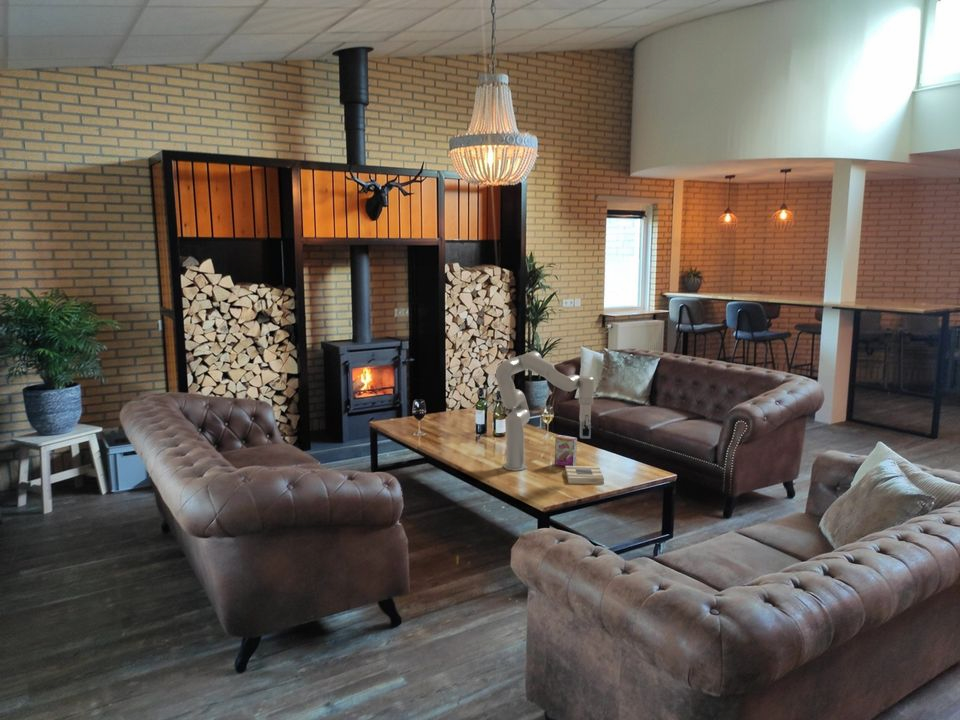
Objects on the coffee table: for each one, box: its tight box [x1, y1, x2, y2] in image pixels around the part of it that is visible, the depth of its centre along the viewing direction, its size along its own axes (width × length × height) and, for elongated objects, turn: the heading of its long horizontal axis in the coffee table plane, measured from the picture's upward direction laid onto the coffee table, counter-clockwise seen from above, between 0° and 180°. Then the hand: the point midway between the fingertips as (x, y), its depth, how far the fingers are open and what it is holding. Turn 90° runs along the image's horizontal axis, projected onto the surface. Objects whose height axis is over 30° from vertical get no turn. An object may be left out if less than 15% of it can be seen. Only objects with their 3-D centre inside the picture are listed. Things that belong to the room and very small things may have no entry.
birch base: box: [564, 465, 605, 485], centre depth 375 cm, size 20×18×3 cm
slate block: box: [579, 421, 592, 439], centre depth 371 cm, size 5×5×8 cm
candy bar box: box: [554, 434, 578, 467], centre depth 394 cm, size 11×5×16 cm, turn 59°
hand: (585, 434), depth 371 cm, fingers closed on slate block, 5 cm apart
